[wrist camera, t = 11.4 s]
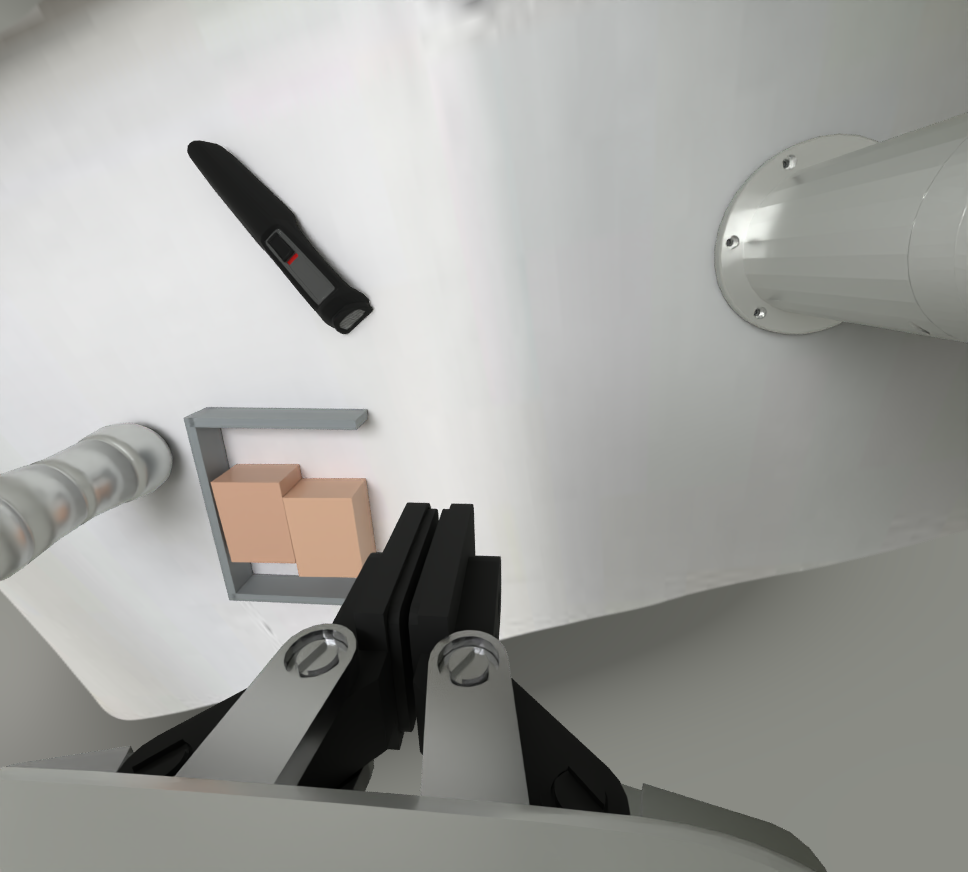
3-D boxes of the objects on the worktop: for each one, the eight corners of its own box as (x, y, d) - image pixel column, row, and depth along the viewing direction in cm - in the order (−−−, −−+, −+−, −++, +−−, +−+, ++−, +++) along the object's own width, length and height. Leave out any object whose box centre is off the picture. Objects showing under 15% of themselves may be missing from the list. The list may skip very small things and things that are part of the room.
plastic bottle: (142, 491, 44) (-139, 659, 25) (99, 428, 42) (-241, 559, 23) (197, 471, 43) (-56, 632, 24) (155, 405, 41) (-156, 525, 22)
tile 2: (366, 477, 42) (351, 497, 38) (377, 551, 45) (363, 577, 41) (303, 477, 42) (282, 497, 39) (317, 550, 45) (299, 576, 41)
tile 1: (300, 463, 42) (279, 482, 38) (314, 538, 45) (295, 563, 41) (237, 463, 42) (210, 482, 39) (255, 537, 45) (231, 562, 41)
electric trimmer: (233, 133, 33) (204, 120, 30) (378, 306, 36) (365, 310, 33) (202, 172, 34) (171, 163, 31) (345, 336, 37) (330, 342, 35)
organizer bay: (367, 409, 39) (355, 420, 36) (385, 585, 46) (376, 606, 43) (206, 407, 40) (183, 417, 37) (246, 580, 47) (229, 600, 44)
